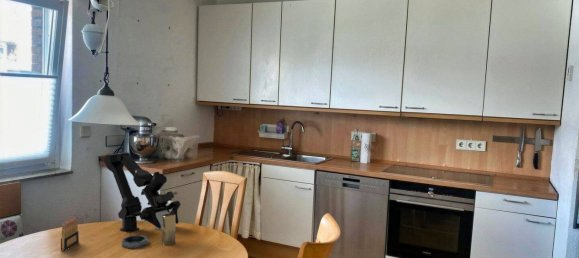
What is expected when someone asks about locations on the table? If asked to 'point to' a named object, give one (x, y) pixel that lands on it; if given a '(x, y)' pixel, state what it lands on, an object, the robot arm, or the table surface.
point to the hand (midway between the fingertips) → (169, 225)
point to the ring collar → (134, 242)
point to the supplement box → (159, 215)
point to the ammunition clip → (69, 233)
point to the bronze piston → (168, 229)
